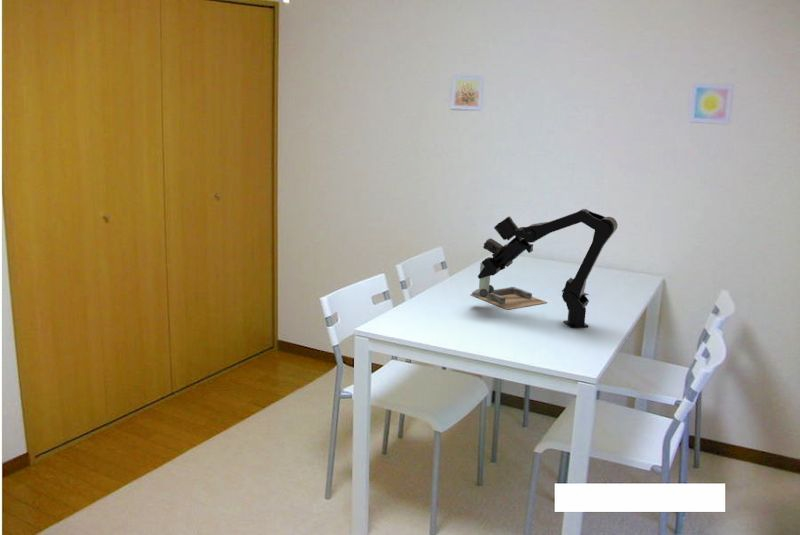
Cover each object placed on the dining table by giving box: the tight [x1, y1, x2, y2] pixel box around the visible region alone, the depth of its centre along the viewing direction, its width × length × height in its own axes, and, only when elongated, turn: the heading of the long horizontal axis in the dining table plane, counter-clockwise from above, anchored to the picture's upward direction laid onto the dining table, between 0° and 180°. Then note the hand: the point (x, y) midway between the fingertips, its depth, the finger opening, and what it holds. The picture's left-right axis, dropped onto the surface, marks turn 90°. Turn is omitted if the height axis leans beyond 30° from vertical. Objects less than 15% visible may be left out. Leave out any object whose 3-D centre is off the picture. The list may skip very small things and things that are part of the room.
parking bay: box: [470, 286, 548, 311], centre depth 265 cm, size 22×20×3 cm
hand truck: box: [471, 262, 495, 298], centre depth 249 cm, size 6×7×13 cm
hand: (481, 275), depth 250 cm, fingers closed on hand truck, 5 cm apart
